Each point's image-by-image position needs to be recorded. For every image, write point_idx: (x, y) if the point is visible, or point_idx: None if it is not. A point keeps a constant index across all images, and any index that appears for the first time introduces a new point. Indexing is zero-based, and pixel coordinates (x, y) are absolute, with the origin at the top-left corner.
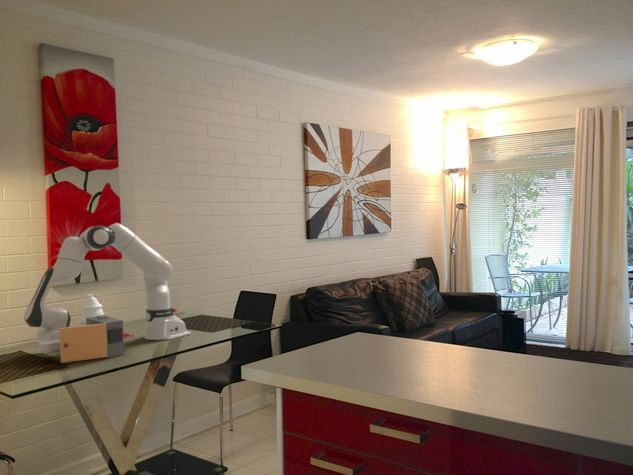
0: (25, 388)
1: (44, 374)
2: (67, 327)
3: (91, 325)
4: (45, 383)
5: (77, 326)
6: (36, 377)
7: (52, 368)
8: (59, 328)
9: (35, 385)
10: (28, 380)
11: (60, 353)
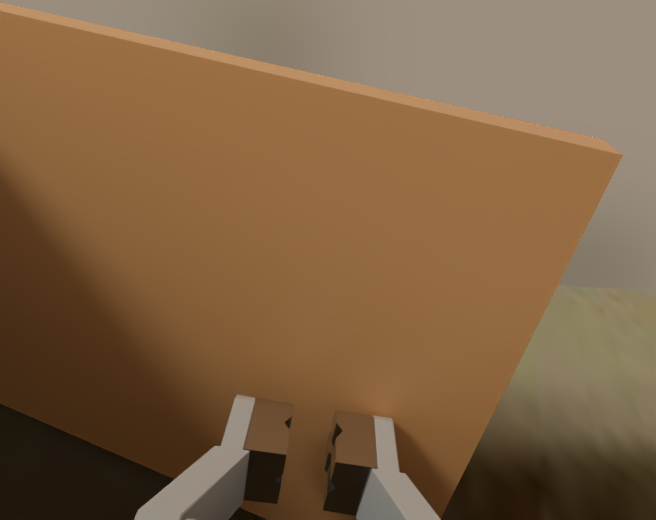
0: (626, 301)
1: (564, 407)
2: (448, 111)
3: (89, 23)
4: None
5: (267, 68)
6: (609, 391)
7: (504, 511)
8: (616, 158)
9: (589, 301)
10: (647, 377)
11: (442, 511)
